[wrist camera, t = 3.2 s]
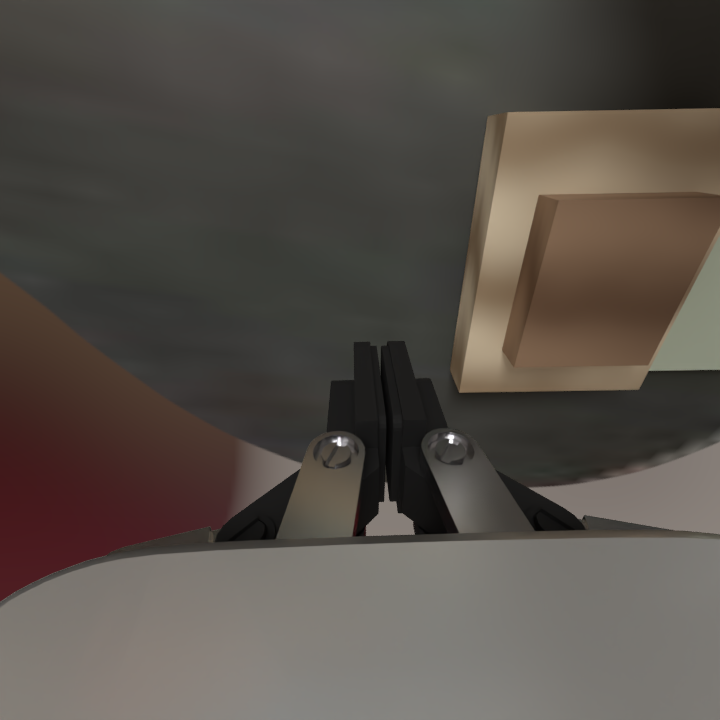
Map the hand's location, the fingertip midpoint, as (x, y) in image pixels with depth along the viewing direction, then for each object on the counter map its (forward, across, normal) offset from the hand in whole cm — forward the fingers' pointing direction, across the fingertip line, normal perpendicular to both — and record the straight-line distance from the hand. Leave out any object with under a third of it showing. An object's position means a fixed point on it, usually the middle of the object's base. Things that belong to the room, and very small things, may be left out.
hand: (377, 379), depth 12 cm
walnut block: (+7, -11, -1) cm, 13 cm away
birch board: (+10, -11, -1) cm, 15 cm away
